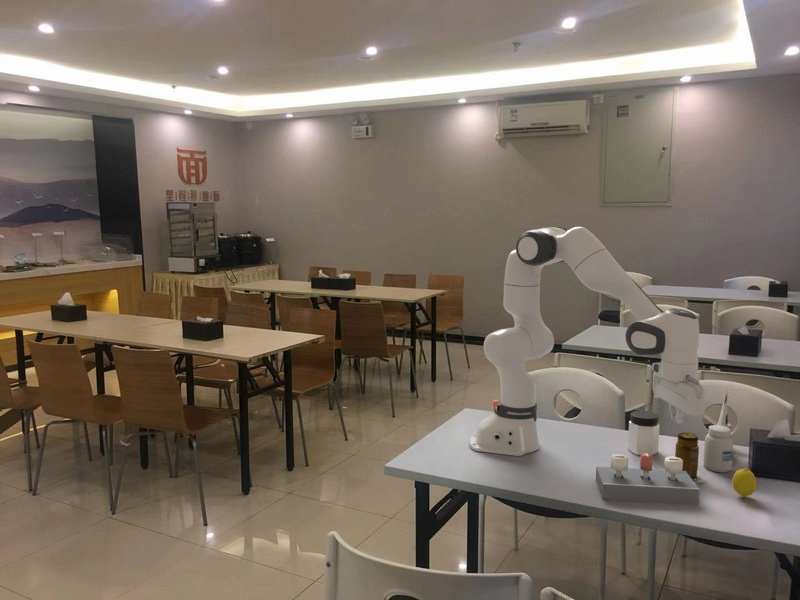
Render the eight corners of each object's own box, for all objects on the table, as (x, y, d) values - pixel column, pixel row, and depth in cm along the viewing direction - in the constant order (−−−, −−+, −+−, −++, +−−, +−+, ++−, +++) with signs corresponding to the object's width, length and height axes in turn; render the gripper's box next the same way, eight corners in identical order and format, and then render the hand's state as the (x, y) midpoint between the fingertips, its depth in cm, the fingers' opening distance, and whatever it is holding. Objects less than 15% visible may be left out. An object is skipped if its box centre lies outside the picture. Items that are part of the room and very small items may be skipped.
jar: (649, 458, 196) (650, 420, 194) (623, 451, 201) (625, 414, 200) (661, 450, 202) (663, 414, 200) (637, 444, 207) (638, 408, 206)
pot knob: (640, 485, 171) (642, 456, 170) (638, 480, 174) (639, 451, 173) (652, 485, 171) (653, 456, 170) (649, 480, 174) (651, 452, 173)
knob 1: (611, 484, 172) (612, 459, 171) (608, 477, 176) (609, 453, 175) (628, 485, 171) (629, 460, 170) (625, 478, 176) (626, 453, 174)
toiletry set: (730, 475, 183) (735, 406, 180) (701, 470, 187) (705, 402, 184) (736, 447, 204) (741, 385, 201) (710, 443, 208) (714, 381, 205)
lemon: (728, 492, 172) (730, 463, 171) (749, 492, 172) (751, 464, 171) (736, 501, 167) (738, 472, 166) (758, 502, 166) (761, 473, 165)
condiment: (692, 470, 187) (694, 430, 185) (706, 482, 179) (708, 441, 177) (667, 470, 187) (669, 431, 185) (680, 482, 179) (682, 441, 177)
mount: (602, 499, 169) (603, 484, 168) (595, 479, 181) (596, 465, 180) (698, 504, 165) (699, 489, 165) (685, 484, 177) (685, 470, 177)
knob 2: (666, 487, 170) (667, 461, 169) (661, 480, 174) (663, 455, 173) (683, 488, 169) (685, 462, 168) (678, 481, 173) (680, 456, 172)
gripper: (713, 381, 157) (710, 435, 159) (670, 361, 177) (668, 410, 179) (689, 382, 157) (686, 436, 158) (649, 362, 177) (647, 411, 179)
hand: (676, 422), depth 169 cm, fingers closed
